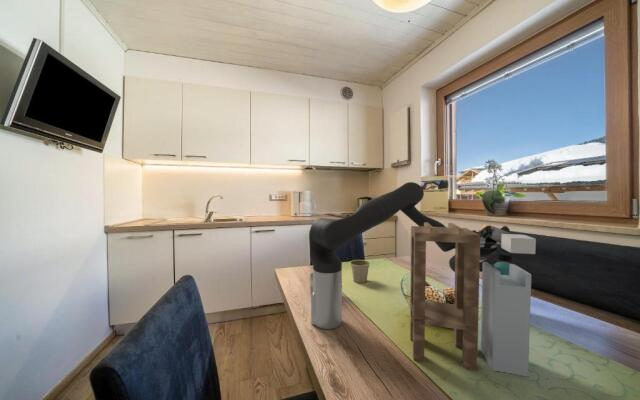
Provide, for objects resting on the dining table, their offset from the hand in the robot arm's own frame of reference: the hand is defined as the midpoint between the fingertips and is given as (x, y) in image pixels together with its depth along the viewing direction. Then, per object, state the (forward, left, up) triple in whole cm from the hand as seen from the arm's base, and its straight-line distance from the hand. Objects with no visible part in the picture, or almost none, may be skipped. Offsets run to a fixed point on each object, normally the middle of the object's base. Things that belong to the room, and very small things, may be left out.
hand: (498, 229), depth 64 cm
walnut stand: (-14, -4, -32) cm, 35 cm away
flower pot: (-40, +41, -32) cm, 66 cm away
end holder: (0, -5, -32) cm, 32 cm away
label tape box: (-54, +24, -32) cm, 68 cm away
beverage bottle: (+12, +26, -32) cm, 43 cm away
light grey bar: (0, -3, -1) cm, 3 cm away
